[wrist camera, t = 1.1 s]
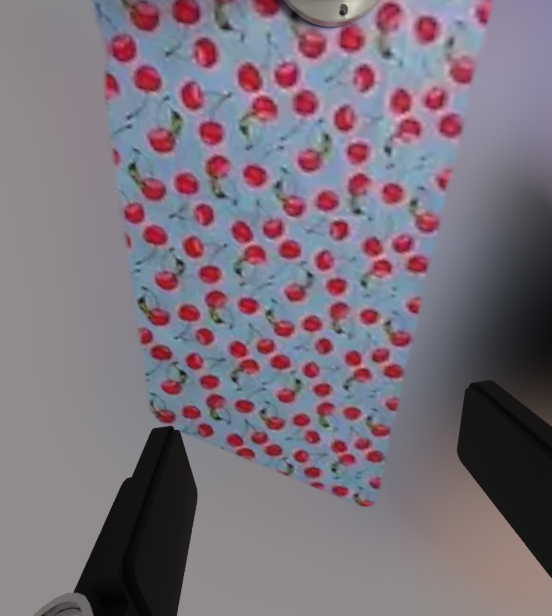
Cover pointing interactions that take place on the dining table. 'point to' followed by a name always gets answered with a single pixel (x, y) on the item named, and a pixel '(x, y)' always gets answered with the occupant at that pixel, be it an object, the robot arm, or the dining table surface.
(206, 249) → the dining table surface
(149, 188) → the dining table surface
